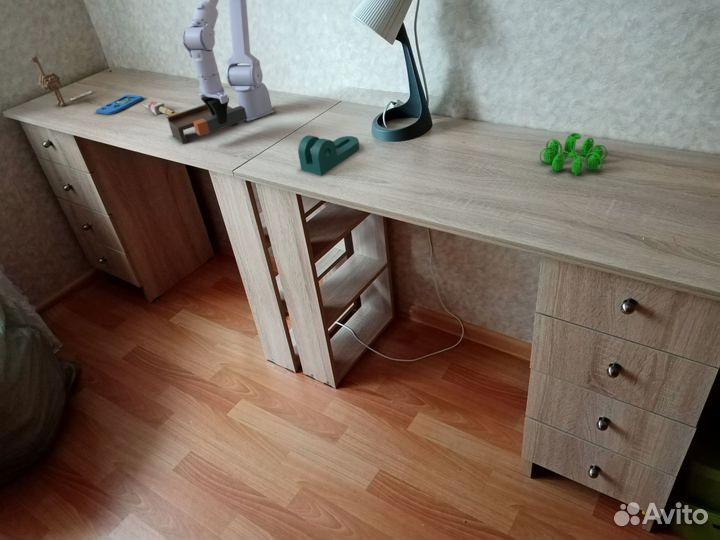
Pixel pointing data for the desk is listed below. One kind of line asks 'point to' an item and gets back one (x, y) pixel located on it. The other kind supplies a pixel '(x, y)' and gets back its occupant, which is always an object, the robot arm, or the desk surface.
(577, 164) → the chandelier
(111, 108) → the handheld gaming device
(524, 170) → the desk surface
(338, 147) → the bracket
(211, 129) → the marker
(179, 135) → the shelf
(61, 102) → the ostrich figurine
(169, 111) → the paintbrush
